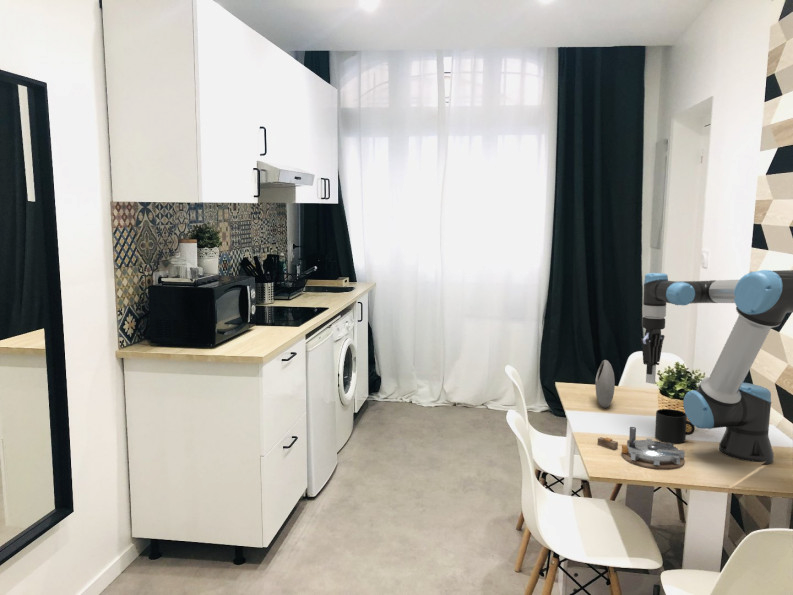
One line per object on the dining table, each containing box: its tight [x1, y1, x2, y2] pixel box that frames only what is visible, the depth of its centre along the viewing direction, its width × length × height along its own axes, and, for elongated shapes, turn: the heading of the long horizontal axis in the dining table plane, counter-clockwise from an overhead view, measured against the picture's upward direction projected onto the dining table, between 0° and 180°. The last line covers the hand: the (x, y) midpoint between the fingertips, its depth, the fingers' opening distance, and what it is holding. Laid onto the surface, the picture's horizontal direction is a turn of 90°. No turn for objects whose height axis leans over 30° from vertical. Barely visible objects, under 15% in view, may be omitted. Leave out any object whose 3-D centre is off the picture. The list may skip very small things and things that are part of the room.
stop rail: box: [597, 437, 619, 451], centre depth 202 cm, size 6×2×3 cm, turn 41°
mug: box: [654, 408, 696, 444], centre depth 210 cm, size 9×12×9 cm
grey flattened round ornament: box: [595, 359, 616, 409], centre depth 246 cm, size 18×7×19 cm, turn 165°
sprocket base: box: [620, 451, 685, 471], centre depth 193 cm, size 18×18×1 cm
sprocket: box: [621, 426, 685, 466], centre depth 193 cm, size 18×18×8 cm
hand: (650, 382), depth 222 cm, fingers closed
